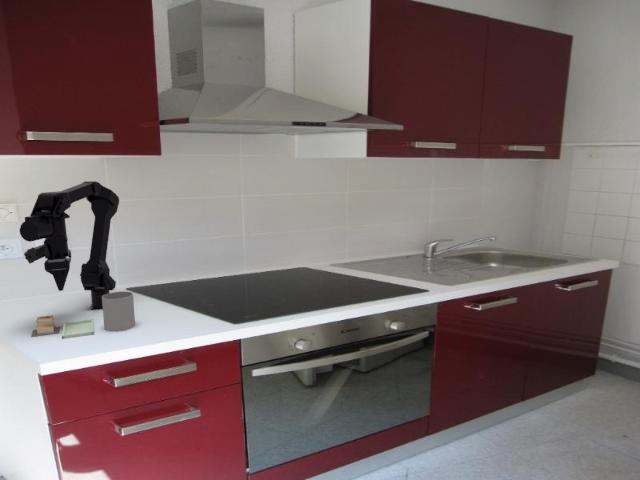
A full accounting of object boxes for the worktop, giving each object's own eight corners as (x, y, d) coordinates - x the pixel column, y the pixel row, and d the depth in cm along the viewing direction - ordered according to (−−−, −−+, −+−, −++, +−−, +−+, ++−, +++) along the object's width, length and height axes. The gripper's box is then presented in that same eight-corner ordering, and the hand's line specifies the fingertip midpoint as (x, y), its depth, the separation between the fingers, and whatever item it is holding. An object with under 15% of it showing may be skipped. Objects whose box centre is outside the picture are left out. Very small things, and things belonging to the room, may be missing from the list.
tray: (64, 326, 149) (64, 322, 149) (93, 322, 152) (93, 318, 152) (62, 340, 137) (61, 336, 137) (94, 335, 140) (93, 331, 140)
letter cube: (38, 330, 144) (37, 316, 144) (54, 328, 146) (53, 314, 145) (37, 334, 141) (36, 320, 140) (53, 332, 142) (52, 318, 142)
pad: (33, 330, 145) (33, 329, 145) (60, 327, 148) (60, 326, 148) (31, 338, 139) (30, 337, 139) (59, 334, 142) (59, 333, 142)
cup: (126, 321, 153) (123, 290, 151) (140, 327, 148) (138, 294, 146) (99, 329, 146) (96, 295, 145) (113, 334, 141) (110, 300, 140)
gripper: (27, 233, 152) (33, 282, 154) (20, 243, 135) (27, 298, 138) (68, 230, 156) (73, 278, 159) (66, 239, 139) (72, 293, 142)
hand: (61, 286), depth 149 cm, fingers open, 9 cm apart
